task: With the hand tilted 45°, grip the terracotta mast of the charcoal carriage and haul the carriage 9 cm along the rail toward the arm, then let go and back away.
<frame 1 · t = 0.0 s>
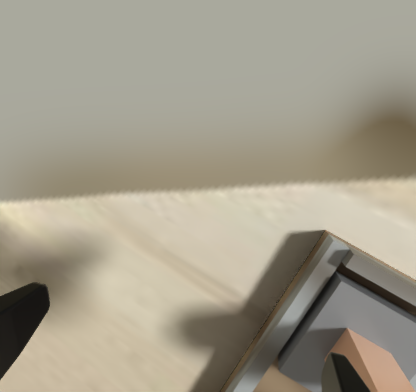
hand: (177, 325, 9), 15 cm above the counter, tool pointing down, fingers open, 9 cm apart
rail: (312, 369, 25), on the counter
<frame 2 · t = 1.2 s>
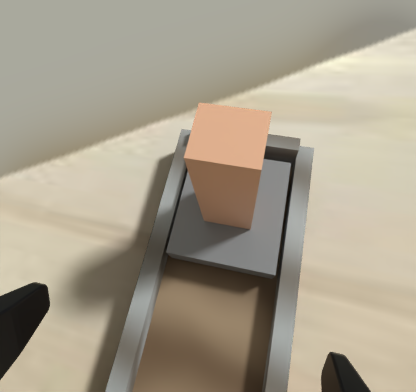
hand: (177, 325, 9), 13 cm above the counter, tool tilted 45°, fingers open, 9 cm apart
carriage: (230, 186, 18), point 7 cm above the counter, slide at 0.0 cm
rail: (220, 277, 23), on the counter
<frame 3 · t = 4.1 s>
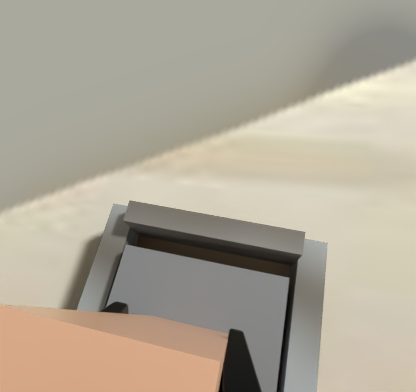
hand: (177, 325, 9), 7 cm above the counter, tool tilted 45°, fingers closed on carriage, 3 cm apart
carriage: (162, 379, 8), point 7 cm above the counter, slide at 0.0 cm, touching gripper
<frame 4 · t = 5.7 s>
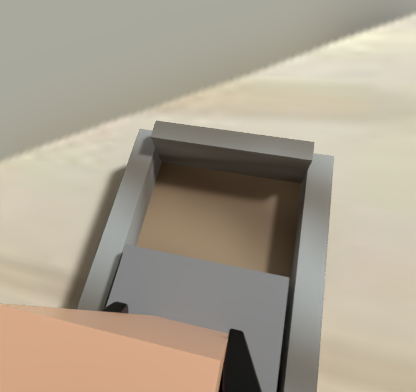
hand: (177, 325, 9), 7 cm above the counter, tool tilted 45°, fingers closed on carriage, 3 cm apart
carriage: (162, 378, 8), point 7 cm above the counter, slide at 4.5 cm, touching gripper
rail: (193, 354, 15), on the counter
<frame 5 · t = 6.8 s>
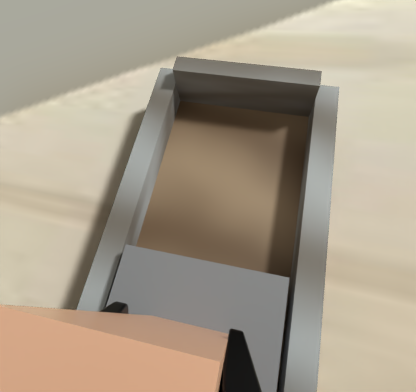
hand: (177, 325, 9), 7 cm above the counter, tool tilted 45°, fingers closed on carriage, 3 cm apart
carriage: (162, 379, 8), point 7 cm above the counter, slide at 9.0 cm, touching gripper
rail: (211, 264, 17), on the counter
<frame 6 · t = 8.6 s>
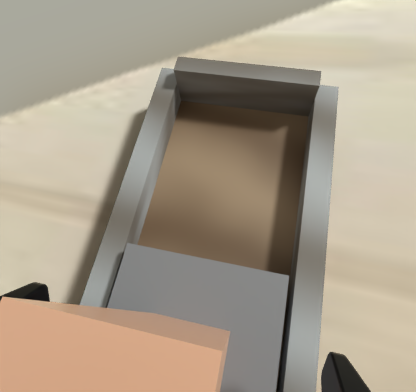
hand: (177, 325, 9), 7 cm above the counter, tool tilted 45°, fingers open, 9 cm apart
carriage: (164, 374, 9), point 7 cm above the counter, slide at 9.0 cm
rail: (212, 262, 17), on the counter
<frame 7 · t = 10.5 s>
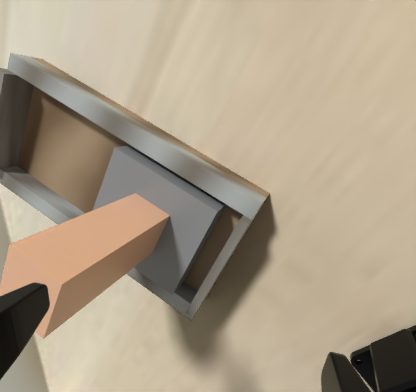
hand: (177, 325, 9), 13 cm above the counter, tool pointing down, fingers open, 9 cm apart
carriage: (111, 242, 17), point 7 cm above the counter, slide at 9.0 cm
rail: (124, 179, 25), on the counter
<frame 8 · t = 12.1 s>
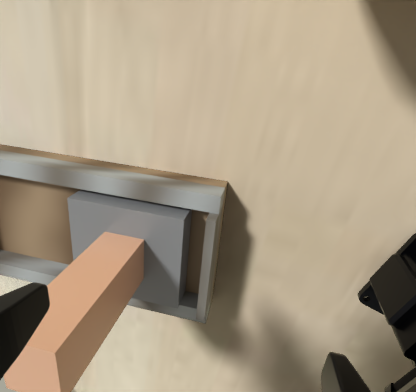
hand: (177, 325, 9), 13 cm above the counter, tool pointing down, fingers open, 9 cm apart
carriage: (97, 288, 18), point 7 cm above the counter, slide at 9.0 cm
rail: (93, 220, 25), on the counter
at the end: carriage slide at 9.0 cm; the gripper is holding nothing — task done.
